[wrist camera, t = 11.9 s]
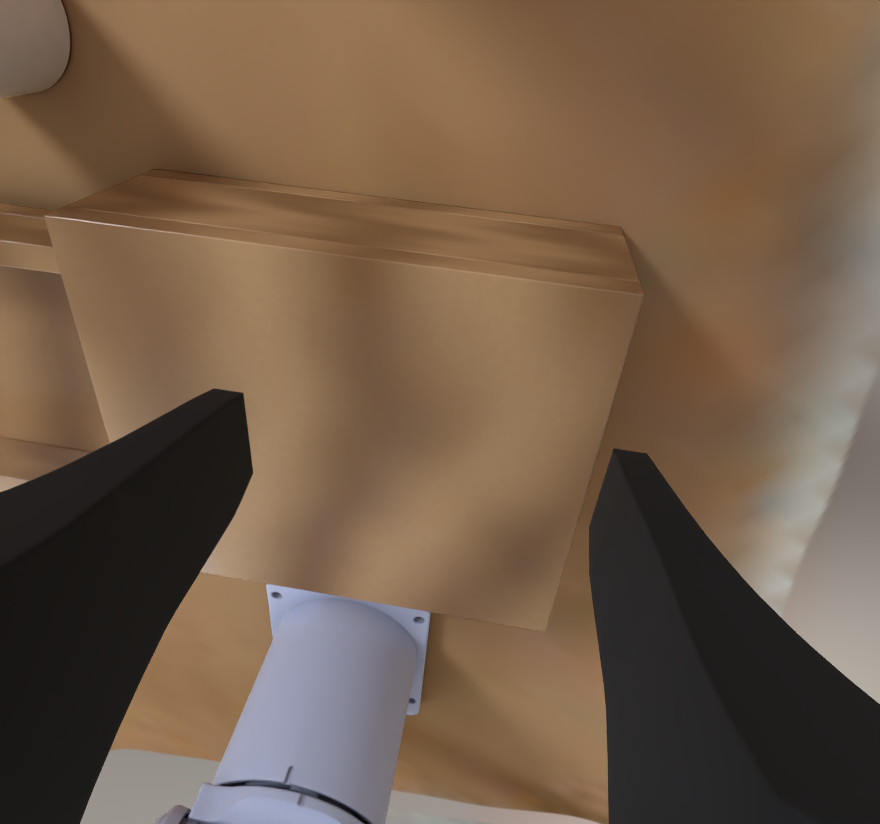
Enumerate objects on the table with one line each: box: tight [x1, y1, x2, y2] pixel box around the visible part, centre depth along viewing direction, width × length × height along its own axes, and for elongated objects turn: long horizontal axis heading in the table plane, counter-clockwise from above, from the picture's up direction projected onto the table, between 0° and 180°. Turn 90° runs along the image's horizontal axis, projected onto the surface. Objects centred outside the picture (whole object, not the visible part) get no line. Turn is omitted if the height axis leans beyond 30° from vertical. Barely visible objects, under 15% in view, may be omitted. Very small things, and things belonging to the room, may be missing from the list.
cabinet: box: [44, 169, 644, 632], centre depth 20 cm, size 15×13×5 cm
